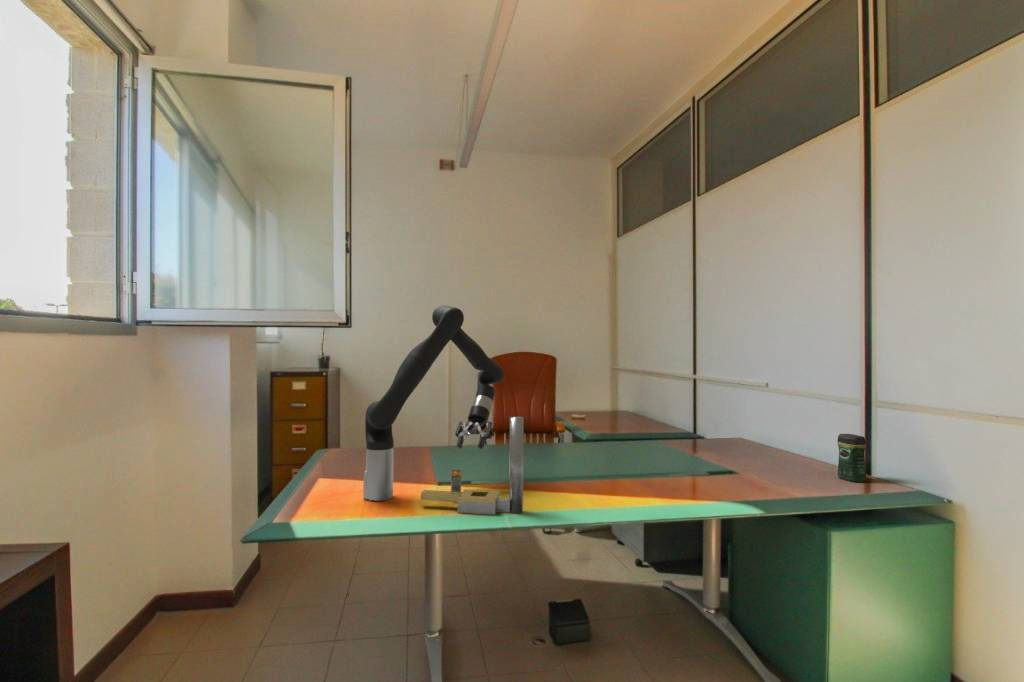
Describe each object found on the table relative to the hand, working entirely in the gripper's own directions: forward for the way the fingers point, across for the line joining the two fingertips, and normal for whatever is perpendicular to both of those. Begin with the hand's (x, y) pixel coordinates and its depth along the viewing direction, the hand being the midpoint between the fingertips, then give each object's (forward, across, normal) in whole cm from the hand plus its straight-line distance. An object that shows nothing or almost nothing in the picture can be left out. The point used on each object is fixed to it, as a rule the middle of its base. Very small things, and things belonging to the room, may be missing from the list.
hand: (469, 447), depth 184 cm
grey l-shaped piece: (+24, +9, -3) cm, 25 cm away
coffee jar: (-33, +131, +81) cm, 157 cm away
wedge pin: (+19, 0, +2) cm, 19 cm away
